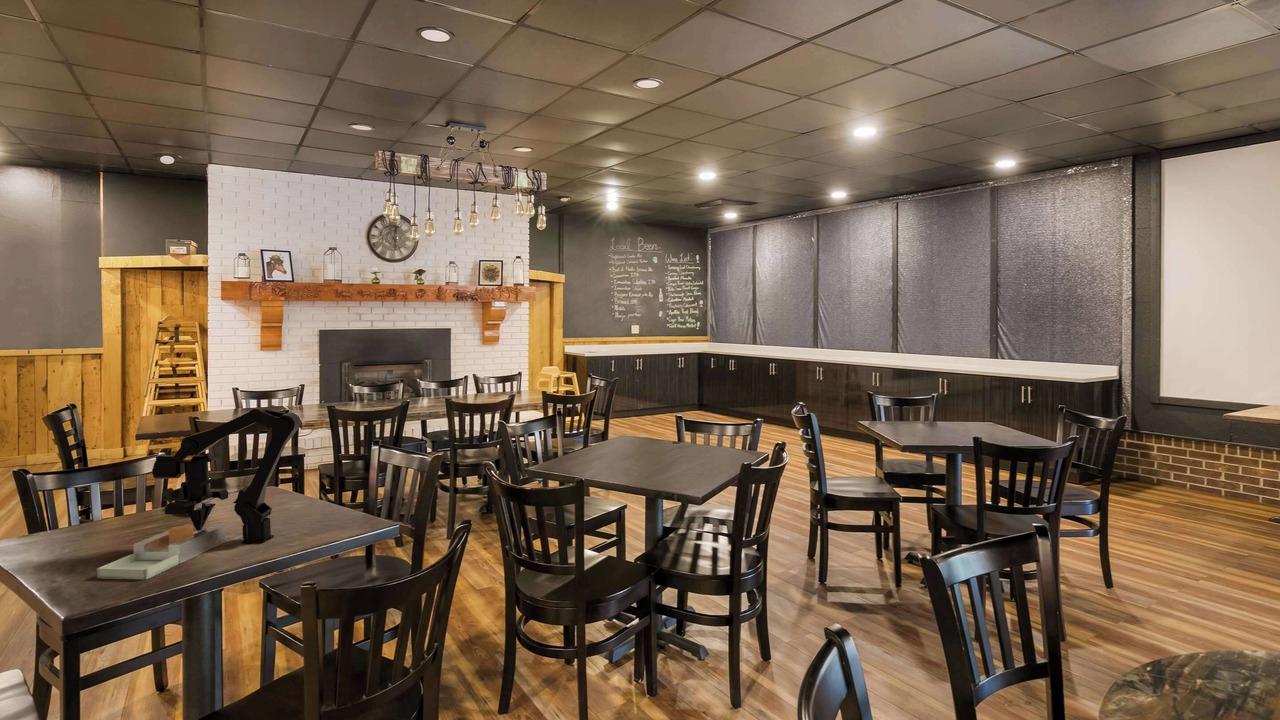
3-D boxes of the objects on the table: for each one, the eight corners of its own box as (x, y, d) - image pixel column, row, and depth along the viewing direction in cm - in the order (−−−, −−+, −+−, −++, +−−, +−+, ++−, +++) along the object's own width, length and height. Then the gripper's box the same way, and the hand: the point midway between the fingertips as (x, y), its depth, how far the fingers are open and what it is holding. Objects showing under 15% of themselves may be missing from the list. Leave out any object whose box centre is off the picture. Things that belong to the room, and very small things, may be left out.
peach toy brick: (193, 539, 192) (192, 525, 192) (183, 543, 188) (182, 529, 188) (180, 538, 193) (179, 525, 192) (169, 543, 189) (168, 529, 188)
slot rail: (225, 541, 199) (225, 525, 199) (180, 563, 181) (179, 544, 181) (183, 541, 200) (182, 524, 200) (134, 562, 182) (133, 544, 182)
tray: (178, 564, 181) (178, 554, 181) (146, 579, 170) (145, 569, 170) (132, 563, 182) (132, 553, 182) (97, 578, 171) (96, 568, 171)
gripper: (193, 470, 206) (195, 520, 207) (144, 484, 188) (147, 540, 189) (228, 470, 206) (230, 521, 206) (183, 484, 187) (185, 540, 188)
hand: (198, 530), depth 197 cm, fingers closed
